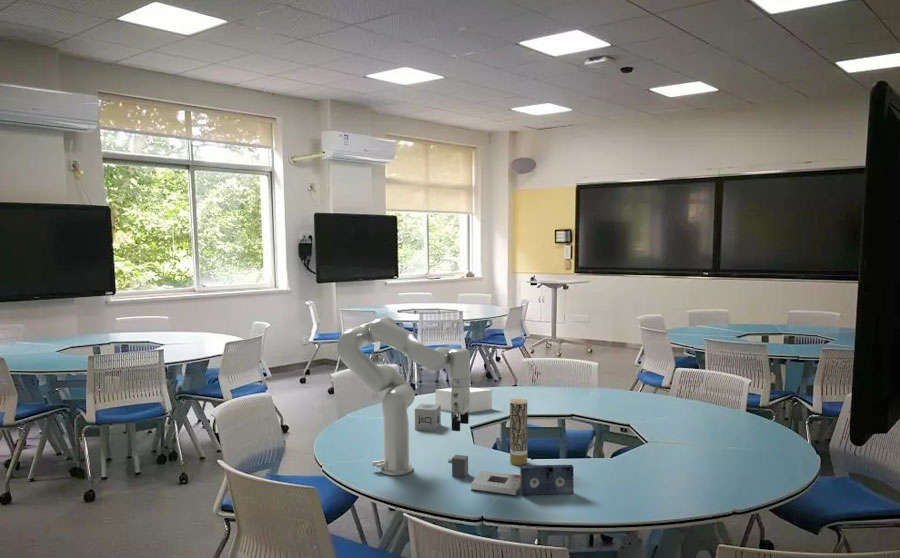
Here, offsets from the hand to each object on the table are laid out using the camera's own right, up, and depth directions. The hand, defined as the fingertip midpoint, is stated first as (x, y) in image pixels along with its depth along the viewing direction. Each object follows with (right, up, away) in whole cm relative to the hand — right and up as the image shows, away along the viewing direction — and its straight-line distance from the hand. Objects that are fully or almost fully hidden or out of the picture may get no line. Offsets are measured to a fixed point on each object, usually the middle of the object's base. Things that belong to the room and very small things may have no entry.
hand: (460, 427), depth 223 cm
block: (+3, -14, +94) cm, 95 cm away
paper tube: (+23, -18, +14) cm, 32 cm away
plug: (0, -18, +1) cm, 19 cm away
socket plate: (+13, -19, -10) cm, 25 cm away
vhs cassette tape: (+30, -19, -17) cm, 39 cm away
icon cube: (-14, -16, +62) cm, 66 cm away
